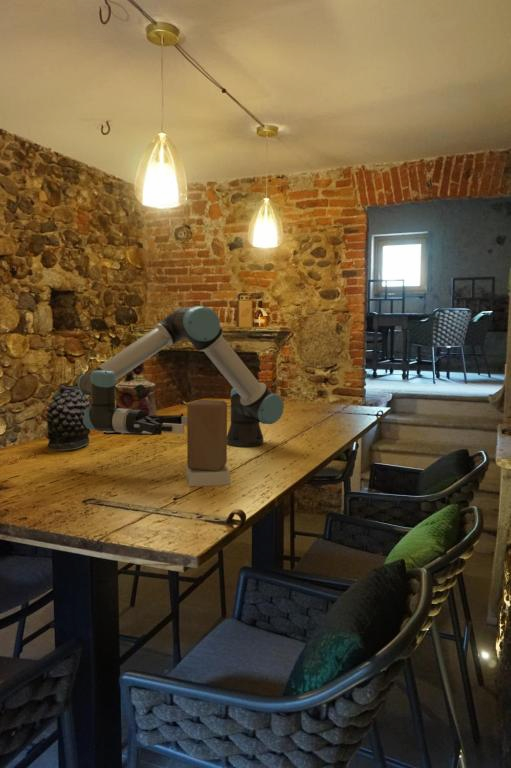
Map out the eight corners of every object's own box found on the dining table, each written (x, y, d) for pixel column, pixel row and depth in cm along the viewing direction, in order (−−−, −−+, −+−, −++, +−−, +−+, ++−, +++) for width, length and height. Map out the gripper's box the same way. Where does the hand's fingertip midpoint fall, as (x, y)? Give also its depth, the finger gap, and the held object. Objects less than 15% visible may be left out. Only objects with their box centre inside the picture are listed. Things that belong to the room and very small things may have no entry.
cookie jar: (117, 424, 263) (116, 357, 260) (168, 425, 263) (167, 358, 259) (101, 434, 239) (99, 360, 235) (157, 435, 238) (157, 361, 235)
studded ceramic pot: (67, 440, 225) (66, 379, 222) (101, 442, 221) (100, 380, 219) (36, 451, 204) (34, 384, 202) (73, 454, 201) (71, 386, 198)
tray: (223, 474, 176) (223, 461, 176) (230, 484, 165) (230, 471, 164) (185, 475, 174) (185, 463, 173) (189, 486, 162) (189, 473, 162)
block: (218, 472, 163) (218, 405, 161) (186, 469, 165) (186, 403, 163) (227, 464, 172) (227, 400, 170) (197, 462, 175) (197, 399, 173)
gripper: (149, 426, 187) (207, 430, 181) (109, 440, 163) (174, 445, 157) (148, 404, 186) (207, 407, 180) (108, 415, 162) (174, 419, 156)
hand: (192, 425), depth 169 cm, fingers open, 13 cm apart
